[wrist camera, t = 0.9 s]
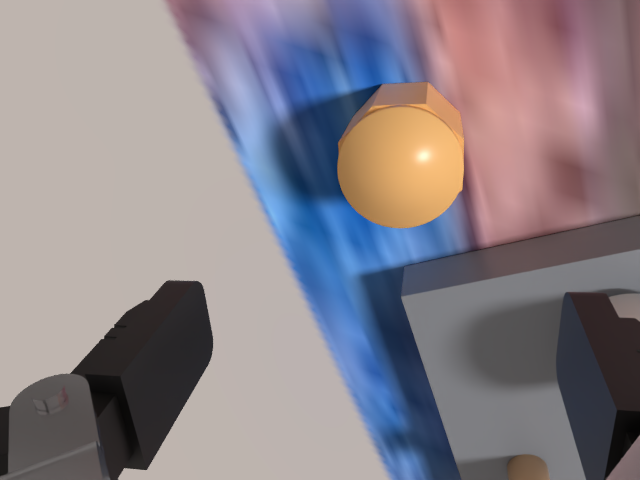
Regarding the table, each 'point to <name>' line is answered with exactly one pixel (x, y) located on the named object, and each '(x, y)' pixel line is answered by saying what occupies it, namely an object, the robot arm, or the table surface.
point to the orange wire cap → (402, 156)
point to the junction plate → (513, 343)
